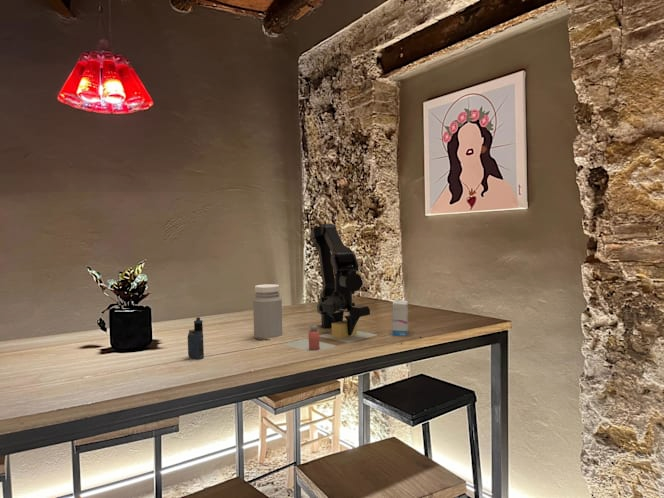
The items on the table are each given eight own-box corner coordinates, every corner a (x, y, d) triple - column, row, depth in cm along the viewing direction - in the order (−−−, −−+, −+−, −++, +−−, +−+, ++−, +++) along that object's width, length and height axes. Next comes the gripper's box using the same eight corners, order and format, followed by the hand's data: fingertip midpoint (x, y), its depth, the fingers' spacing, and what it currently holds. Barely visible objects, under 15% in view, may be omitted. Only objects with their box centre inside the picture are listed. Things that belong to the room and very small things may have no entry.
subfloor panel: (280, 347, 151) (280, 344, 151) (347, 331, 172) (347, 329, 172) (311, 355, 141) (311, 352, 141) (378, 337, 162) (378, 334, 161)
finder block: (331, 336, 160) (331, 322, 160) (348, 332, 166) (348, 318, 166) (340, 338, 157) (340, 323, 157) (356, 334, 163) (356, 320, 163)
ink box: (407, 339, 159) (406, 303, 158) (392, 338, 160) (391, 303, 159) (408, 333, 167) (408, 299, 167) (394, 333, 168) (393, 299, 168)
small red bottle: (306, 349, 144) (306, 326, 144) (314, 347, 146) (314, 324, 146) (313, 351, 142) (313, 327, 142) (321, 348, 144) (321, 325, 144)
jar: (288, 337, 166) (287, 285, 165) (266, 342, 159) (264, 288, 158) (270, 333, 172) (269, 283, 172) (248, 338, 165) (246, 286, 164)
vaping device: (199, 360, 138) (197, 318, 138) (186, 357, 141) (185, 317, 141) (205, 357, 141) (204, 317, 140) (193, 355, 143) (192, 315, 143)
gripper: (307, 288, 162) (308, 334, 163) (347, 292, 149) (348, 342, 149) (330, 285, 170) (331, 329, 170) (370, 289, 156) (371, 336, 157)
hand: (344, 334), depth 162 cm, fingers open, 5 cm apart
